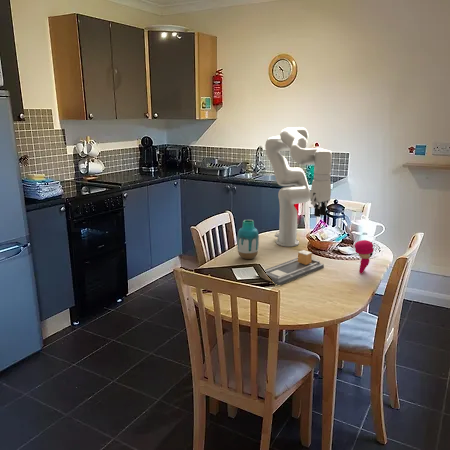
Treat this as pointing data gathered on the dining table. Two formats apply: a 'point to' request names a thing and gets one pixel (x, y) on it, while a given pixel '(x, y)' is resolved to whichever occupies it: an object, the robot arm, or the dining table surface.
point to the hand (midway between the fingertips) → (320, 215)
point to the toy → (364, 253)
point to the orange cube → (304, 257)
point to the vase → (248, 240)
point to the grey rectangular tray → (291, 270)
